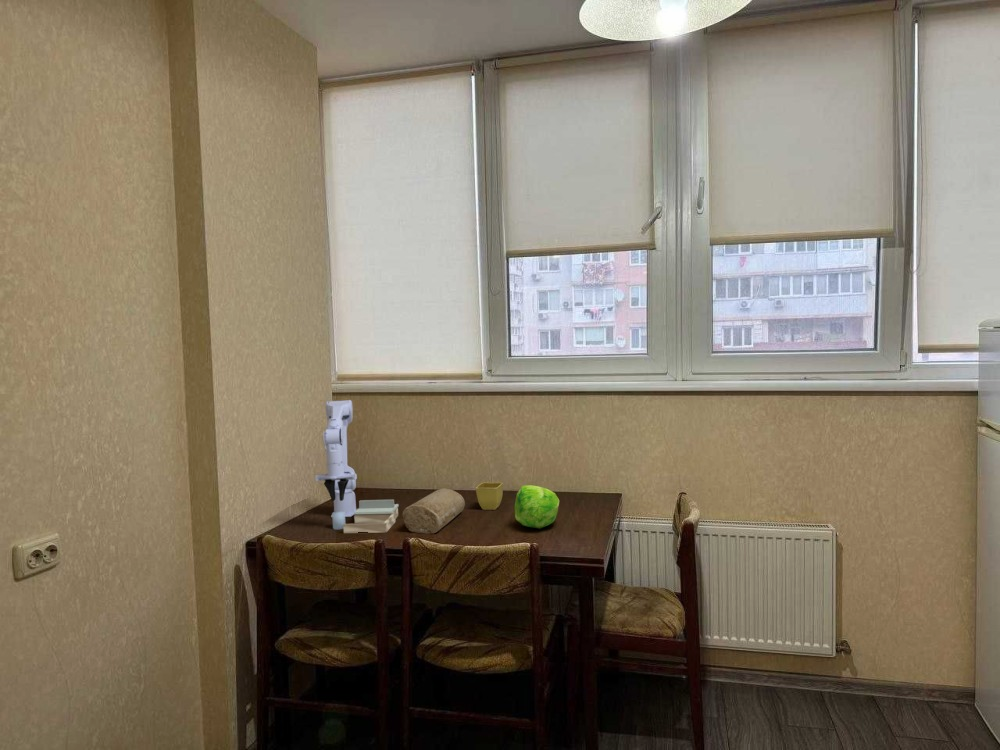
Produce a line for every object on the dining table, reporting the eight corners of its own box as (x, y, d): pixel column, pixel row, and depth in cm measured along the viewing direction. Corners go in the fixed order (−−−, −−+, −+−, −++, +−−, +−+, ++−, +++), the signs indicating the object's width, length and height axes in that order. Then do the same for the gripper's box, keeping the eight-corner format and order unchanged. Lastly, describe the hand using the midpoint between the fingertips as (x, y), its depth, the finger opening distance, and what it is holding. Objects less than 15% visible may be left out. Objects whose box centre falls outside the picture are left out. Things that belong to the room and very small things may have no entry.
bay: (361, 516, 248) (361, 508, 248) (400, 515, 247) (400, 507, 247) (343, 533, 228) (343, 524, 228) (386, 532, 227) (385, 523, 226)
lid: (362, 507, 250) (361, 497, 249) (398, 506, 248) (397, 496, 248) (354, 514, 240) (353, 504, 239) (391, 513, 238) (391, 503, 238)
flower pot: (476, 511, 248) (474, 487, 248) (482, 505, 256) (481, 482, 256) (498, 511, 246) (497, 487, 245) (504, 505, 254) (503, 482, 254)
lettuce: (554, 516, 236) (562, 481, 233) (552, 543, 216) (560, 505, 213) (514, 508, 237) (521, 473, 234) (508, 533, 217) (516, 495, 214)
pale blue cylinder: (335, 526, 238) (334, 511, 237) (347, 525, 237) (346, 510, 237) (331, 529, 233) (330, 514, 233) (343, 529, 233) (342, 514, 233)
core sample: (465, 513, 246) (464, 487, 245) (440, 535, 221) (438, 506, 220) (430, 512, 250) (429, 486, 249) (401, 534, 224) (399, 505, 224)
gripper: (311, 465, 231) (313, 503, 232) (351, 464, 229) (353, 502, 230) (318, 461, 238) (321, 498, 239) (357, 460, 236) (360, 497, 237)
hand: (337, 500), depth 235 cm, fingers closed
